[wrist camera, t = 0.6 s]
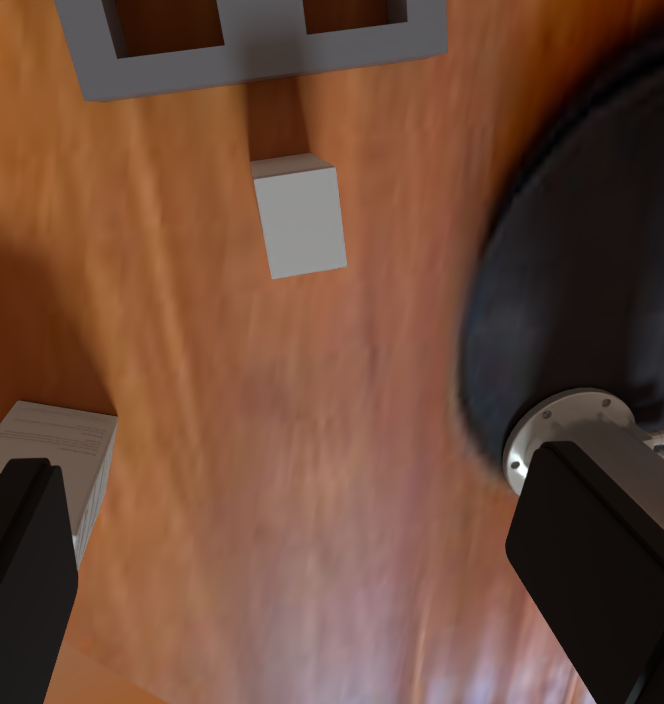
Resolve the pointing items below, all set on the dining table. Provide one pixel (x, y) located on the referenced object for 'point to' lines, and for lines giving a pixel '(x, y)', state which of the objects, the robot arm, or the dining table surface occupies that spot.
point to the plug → (299, 214)
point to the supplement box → (65, 455)
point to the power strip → (242, 47)
